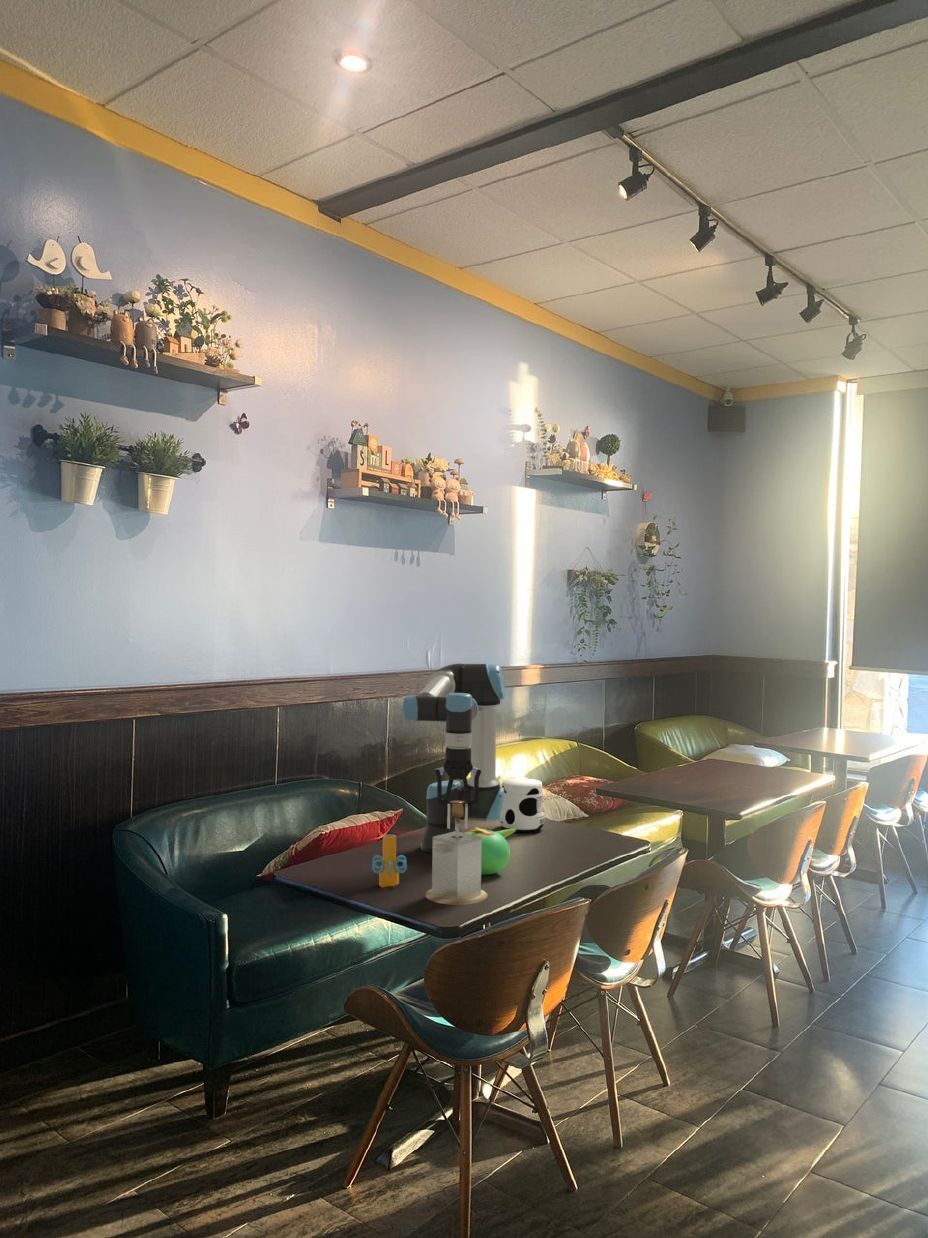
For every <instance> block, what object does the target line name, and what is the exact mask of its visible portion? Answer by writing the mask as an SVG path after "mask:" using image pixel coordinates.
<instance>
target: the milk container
mask: <svg viewBox="0 0 928 1238" xmlns="http://www.w3.org/2000/svg"><path fill="white" fill-rule="evenodd" d="M501 787H503V788H504V799H503V805H502V811H501V815H500V818H499V819H498V820H499V824H500V826H501V828H503V830H507V829H516V831H515V832H519V833H528V832H535V831H538V830H540V829H542V828H543V827H544V825H545V817H546V816H545V811H544V806H543V795H544V794H543V791H544V789H543V782H542V781H541V780H540V779H539V780H538V779H534V778H524V777H523V778H522V777H521V778H520V777H518V778H516V777H514V778H507V779H504V780H502V782H501Z"/></svg>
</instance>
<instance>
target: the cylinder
mask: <svg viewBox="0 0 928 1238" xmlns="http://www.w3.org/2000/svg"><path fill="white" fill-rule="evenodd" d="M371 861H372V865H371V869H372V871H373V873H375V874H378V886H379V887H380V888H382V889H383V888H387V887H394V886H398V885H399V884H400V874H403V873H405V872H406V871H407V868H408V864H407V861H408V860H407V857H406V856H405V855H403V854H400V855H397V834H389V833H388V834H384V835H382V855H380V854H376V855H374V856H373V857H372V859H371ZM377 863H381V865H380V866H378V865H377ZM398 863H402V865H401V866H399V865H398Z"/></svg>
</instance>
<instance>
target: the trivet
mask: <svg viewBox="0 0 928 1238" xmlns="http://www.w3.org/2000/svg"><path fill="white" fill-rule="evenodd" d="M424 895H425V897H426V898H427V900H430V901H432V902H433V903H438V904H443V905H450V906H453V905H454V906H463V905H464V906H465V905H466V906H467V905H472V904H473V905H474V904H478V903H480V902H483V901H484V900H487V898H488V893H487V892H486V891H485V890H483V889H481V895H478V896H475V897H472V898H469V899H466V900H463V901H460V902H454V901H451V900H448V899H444V898H441V897H438V896H435V895H432V888H431V889H428V890H427V891H426V892H425V894H424Z"/></svg>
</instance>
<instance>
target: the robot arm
mask: <svg viewBox="0 0 928 1238" xmlns="http://www.w3.org/2000/svg"><path fill="white" fill-rule="evenodd" d="M426 683H427V684H426V685H425V687H424V688H423V689H422V690H421V691H420V692H419V694H418V695H414V694H413V695H406V696H405V697H404V699H403V703H402V715H403V719H405V720H406V721H414V722H442V723H443V722H445V746H446V748H445V754H444V755H445V757H444V758H445V759H444V763H443V766H441V767H439V768H438V767H436V768H435V769H434V772H435V775H436V778H437V779H436V780H437V781H436V782H433V783H431V784H429V785H428V786H427V788H426V789H427V790H426V797H425V799H426V819H425V820H426V825H425V826H426V827H425V830H424V833H423V837H422V839H421V842H420V850H422V852H425V853H428V854H433V837H434V836H438V835H442V834H446V833H450V832H454V831H455V818H454V817H450V802H451V801H464V802H465V817H461V818H460V820H459V832H462V830H461V821H464V829H465V830H467V829H468V828H469V826H468V822H469V821H475V822H477V821H479V822H480V821H481V822H485V823H486V822H497V821H498V820H499V818H500V815H501V811H502V805H503V799H504V788H503V787H502V786H501V782H500V779H498V778H497V777H496V769H497V768H496V766H497V765H496V763H497V762H496V761H497V760H496V759H497V758H496V755H497V754H496V753H497V752H496V750H497V749H496V746H497V745H496V743H497V741H496V731H497V730H496V728H497V727H496V725H497V724H496V723H497V722H496V721H497V716H496V715H497V714H496V713H497V708H498V707H499V706H500V705H501V700H504V699H505V696H506V692H505V691H506V685H505V678H504V674H503V670H502V668H501V666H500V665H498V664H490V663H452V664H449V665H445V666H443V667H440V668H439V669H437V670H434V672H432V673H431V674H430V676H429V677H428V679H427V682H426ZM444 772H445V773H446V775H447V776H448V780H442V779H443V778H442V776H443V774H444ZM469 775H470V777H469V778H467V777H468V776H469ZM460 780H461V781H462V783H461V781H460ZM462 784H463V785H462Z"/></svg>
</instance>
